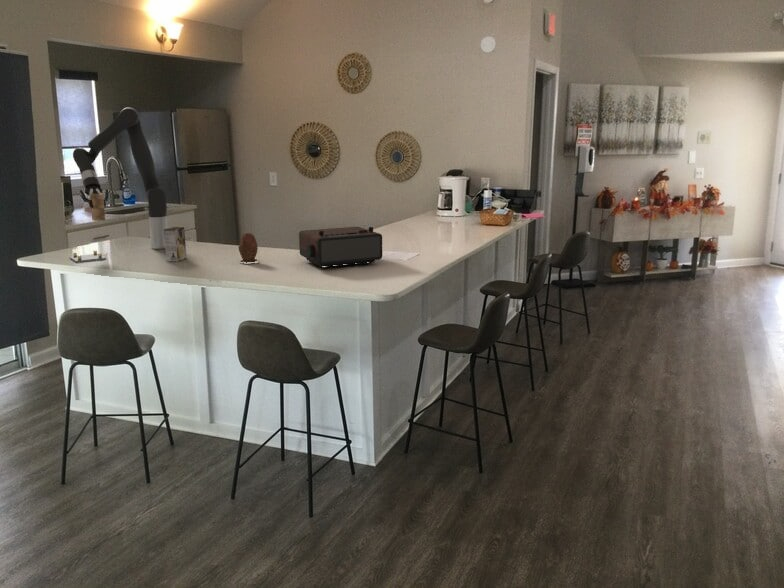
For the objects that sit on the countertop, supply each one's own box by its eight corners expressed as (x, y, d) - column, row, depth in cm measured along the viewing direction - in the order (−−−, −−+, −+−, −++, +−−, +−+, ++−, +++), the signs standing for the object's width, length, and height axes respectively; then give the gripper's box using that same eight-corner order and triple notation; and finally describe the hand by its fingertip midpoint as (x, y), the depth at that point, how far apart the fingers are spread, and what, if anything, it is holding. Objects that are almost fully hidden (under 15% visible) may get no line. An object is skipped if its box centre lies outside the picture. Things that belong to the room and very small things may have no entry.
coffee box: (175, 258, 344) (172, 226, 340) (187, 258, 343) (184, 226, 339) (166, 261, 335) (163, 229, 331) (177, 262, 334) (175, 229, 330)
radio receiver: (314, 272, 310) (312, 233, 306) (294, 262, 334) (293, 225, 330) (382, 265, 326) (382, 228, 321) (360, 256, 349) (359, 221, 345)
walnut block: (102, 219, 345) (100, 193, 342) (105, 220, 341) (103, 194, 338) (92, 219, 342) (90, 193, 339) (94, 220, 338) (92, 194, 335)
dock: (99, 255, 351) (98, 249, 350) (106, 259, 340) (105, 253, 339) (69, 258, 343) (69, 252, 342) (76, 262, 332) (75, 256, 331)
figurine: (239, 262, 336) (239, 231, 334) (260, 262, 337) (259, 232, 335) (237, 264, 327) (236, 233, 325) (258, 264, 328) (257, 233, 326)
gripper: (76, 176, 338) (83, 203, 332) (106, 175, 346) (114, 201, 340) (74, 186, 343) (82, 212, 337) (104, 185, 352) (112, 211, 345)
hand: (98, 207), depth 338 cm, fingers closed on walnut block, 5 cm apart
